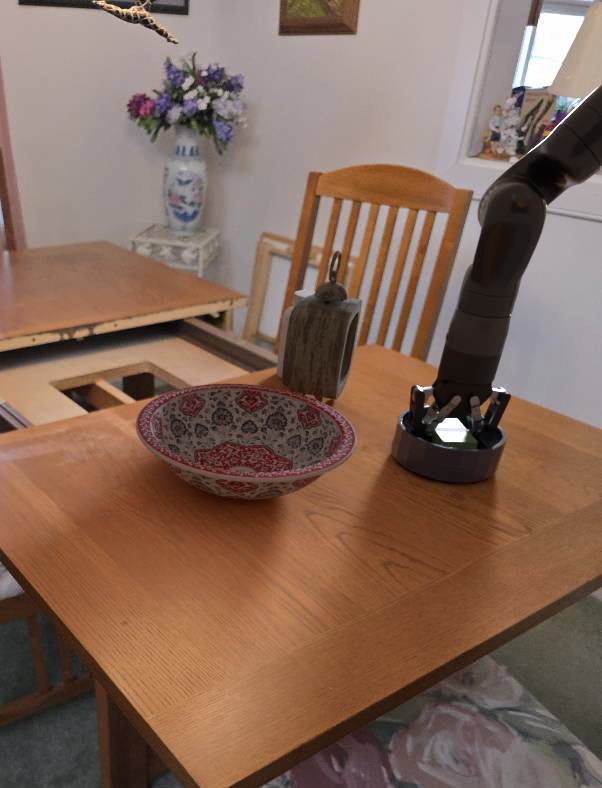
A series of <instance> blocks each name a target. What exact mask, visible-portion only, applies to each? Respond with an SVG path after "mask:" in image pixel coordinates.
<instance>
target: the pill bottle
mask: <svg viewBox="0 0 602 788" xmlns="http://www.w3.org/2000/svg"><path fill="white" fill-rule="evenodd" d="M315 291H316V290H309V289H300V290H296V291H294V293H293V296H292V302H291V305H292V306H289V307H288V308H286V309H285V310H284V312H283V315H282V322H281V329H280V336H279V337H280V339H279V345H278V353H277V361H276V375H277V376H278V377H279V378H280V379H282V370H283V361H284V352H285V344H286V336H287V329H288V323H289V318H290V315H291V312H292V310H293V309H294V307H295V306H296V305H297V304H298V302H299V301H300V300H302V299H303V298H305V297H307V296H310V295H313V294H314V293H315Z"/></svg>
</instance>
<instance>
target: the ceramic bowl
mask: <svg viewBox="0 0 602 788" xmlns="http://www.w3.org/2000/svg"><path fill="white" fill-rule="evenodd" d="M135 431H136V435H137V437H138V439H139V441H140V442H141V444H142V445H143V446H144V447H145V448H146V449H147V450H148V451H149V452H150V453H152V454H153V455H154V456H156V457H158V458H159V459H160V460H161V461H162V462H163V464H164V465H165V466H166V467H167V468H168V469H169V470H170V471H171V472H172V473H173V474H175V475H176V476H177V477H178V478H180V479H181V480H183V481H184V482H185V483H187V484H189V485H190V486H193V487H194V488H196V489H199V490H201V491H203V492H205V493H209V494H213V495H216V496H220V497H224V498H230V499H235V500H236V499H238V500H266V499H272V498H278V497H283V496H286V495H289V494H293V493H294V492H297V491H300V490H302V489H304V488H306V487H307V486H309V485H311V484H313V483H314V482H316V481H317V480H319V478H321V477H323V475H325V474H326V473H328V472H331V471H333V470H335V469H337V468H338V467H341V465H343V464H345V463H346V462H347V461H348V460H349V459H350V457H351V456H352V455H353V453H354V452H355V450H356V446H357V434H356V433H357V432H356V431H355V429H354V427H353V425H352V423H350V421H349V420H348V419H347V418H346V416H344V415H343V414H341V413H340V412H339V411H338V410H337V409H335V408H333V407H332V406H329V405H327V404H326V403H324V402H323V401H322V402H320V401H317V400H316V398H313V397H310V396H308V395H305V396H304V395H302V394H301V393H296V392H291V391H290V390H286V389H284V388H283V389H282V388H279V387H278V388H276V387H273V386H272V387H271V386H266V385H257V384H248V383H247V384H246V383H208V384H200V385H193V386H188V387H183V388H178V389H175V390H172V391H169V392H166V393H164V394H161V395H159V396H157V397H155V398H154V399H152V400H149V402H148V403H146V404H145V405H144V406H143V407H142V408H141V409H140V411H139V412H138V414H137V416H136V420H135Z"/></svg>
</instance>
